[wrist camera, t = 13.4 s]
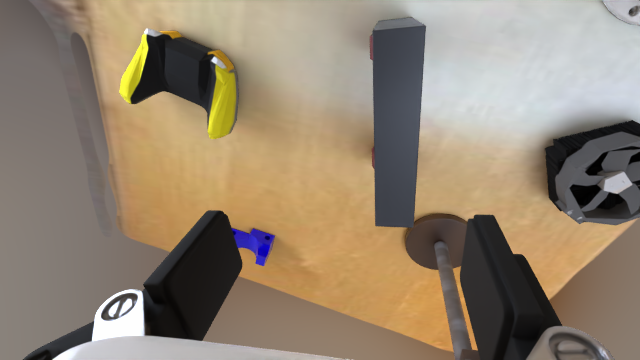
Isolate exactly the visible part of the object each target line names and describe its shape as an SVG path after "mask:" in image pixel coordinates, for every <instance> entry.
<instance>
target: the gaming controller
mask: <svg viewBox="0 0 640 360" xmlns="http://www.w3.org/2000/svg"><path fill="white" fill-rule="evenodd" d="M162 91H166V92H169V93H172V94H175V95H177V96H179V97H182V98H184V99H186V100H188V101H191V102H193V103H195V104H198V105H200V106H202V107H203V108H205V110H206V112H207V116H208V134H209V137H210V139H217V138H221V137H224V136H226V135H228V134H229V133H231V131H232V129H233V127H234V125H235V123H236V120H237V110H238V99H239V92H238V79H237V74H236V71H235V69H234V67H233V64H232V63H231V62H230V61H229V59H228V58H227V57H226V56H225V54H224V53H223V52H222V51H220V50H216V51H214V50H212V49H209V48H207V47H205V46H203V45H200V44H198V43H196V42H193V41H191V40H189V39H187V38H184V37H182V36H181V35H180V34H179V32H178V31H155V30H152V29H146V30H145V33H144V34H143V35H142V42H141V44H140V46H139V48H138V50H137V52H136V54H135V56H134V57H133V59H132V61H131V63H130V65H129V66H128V68H127V70H126V71H125V73H124V75H123V77H122V79H121V85H120V94H121V95H122V97H123V98H124V99H125V100H126V101H127V102H128V103H129V104H137V103H139V102H141V101H143V100H145V99H147V98H149V97H151V96H153V95H155V94H157V93H159V92H162Z"/></svg>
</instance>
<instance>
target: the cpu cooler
mask: <svg viewBox="0 0 640 360" xmlns="http://www.w3.org/2000/svg"><path fill="white" fill-rule="evenodd" d="M553 143H554V146H552V147H548V148H545V153H546V166H547V175H548V185H549V186H548V189H549V198H550V200H551V201H552V202H553V203H554V204H555V206H556V207H557V208H558V209H559V210H560V211H563V212H564V213H566V214H567V215H568V216H570V217H571V218H572V219H574V220H575V221H576V222H577V223H579V224H581V223H583V222H593V223H601V224H609V225H618V224H621V223H624V222H627V221H630V220H633V219H636V218H639V217H640V124H639V123H637V122H635V121H633V120H631V121H628V122H625V123H619V124H618V125H617V124H616V125H615V124H614V126H613V125H612V126H610V127H609V126H608V127H607V126H606V127H604V128H603V127H602V128H601V129H600V128H599V129H596V130H595V129H594V130H591V131H590V132H589V131H588V132H585V133H584V132H583V133H580V134H579V133H578V134H577V135H576V134H575V135H574V134H573V135H572V136H571V135H570V136H565V137H561V139H560V138H558V139H553Z"/></svg>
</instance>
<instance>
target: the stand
mask: <svg viewBox="0 0 640 360" xmlns="http://www.w3.org/2000/svg"><path fill="white" fill-rule="evenodd" d="M466 229H467V222H466V221H465V220H463V219H461V218H459V217H457V216H454V215H449V214H433V215H428V216H425V217H423V218H421V219H419V220H417V221H416V222H415V223H414V227H413V228H409V229H408V231H407V234H406V238H405V243H406V250H407V253H408V254H409V256H410V257H411V258H412V260H414V261H415V262H416V263H417V264H419V265H421V266H423V267H426V268H429V269H434V270H439V275H440V280H441V285H442V291H443V296H444V302H445V307H446V312H447V318H448V323H449V328H450V334H451V339H452V344H453V350H454V355H455V360H480V356H479V352H478V351H477V350H472V347H471V343H470V339H469V334H468V330H467V326H466V322H465V318H464V314H463V309H462V305H461V301H460V297H459V293H458V289H457V284H456V280H455V276H454V272H453V268H456V267H459V266H461V264H462V257H463V250H464V243H465V236H466Z"/></svg>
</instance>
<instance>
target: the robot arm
mask: <svg viewBox="0 0 640 360" xmlns="http://www.w3.org/2000/svg"><path fill="white" fill-rule="evenodd" d="M603 2H604V4H605V5H606V7H607V8H608V10H609V11H610V12H611V13H612V14H614V15H615V16H616V17H617V18H619V19H621V20H623V21H625V22H627V23H630V24H634V25H639V26H640V0H603ZM630 9H631V11H630V12H629V10H630ZM241 269H242V259H241V256H240V253H239V250H238V247H237V244H236V241H235V238H234V235H233V231H232V228H231V225H230V222H229V219H228V216H227V215H226V214H224V212H223V211H211V210H209V211H207V212H206V213H205V214H204V215H203V216H202V217H201V218H200V220H199V221H198V222H197V223H196V224H195V225H194V226H193V228H192V229H191V230H190V231H189V232H188V233H187V234H186V236H185V237H184V238H183V239H182V240H181V241H180V242H179V244H178V245H177V246H176V247H175V248H174V249H173V250H172V252H171V253H170V254H169V255H168V256H167V257H166V258H165V260H164V261H163V262H162V263H161V264H160V265H159V267H158V268H157V269H156V270H155V271H154V272H153V273H152V275H151V276H150V277H149V278H148V279H147V280H146V281H145V283H144V284H143V285H144V287H145V289H144V290H143V291H142V292H141V291H139V290H136V289H131V290H126V291H123V292H120V293H118V294H116V295H114V296H113V297H111V298H110V299H108V300H107V301H106V302H105V303H104V304H103V305H102V306H101V307H100V308H99V310H98V311H97V314H96V317H95V321H93V322H92V323H89V324H87V325H85V326H83V327H81V328H79V329H77V330H75V331H73V332H71V333H69V334H67V335H65V336H62V337H60V338H59V339H57V340H55V341H52V342H50V343H48V344H46V345H44V346H42V347H40V348H38V349H37V350H35V351H33V352H32V353H30V354H29V355H28V356H26V357H25V358H24V359H23V360H351V359H343V358H335V357H327V356H319V355H312V354H303V353H296V352H288V351H279V350H271V349H263V348H255V347H247V346H238V345H230V344H221V343H213V342H205V341H202V340H203V338H204V336H205V335H206V333H207V331H208V329H209V327H210V326H211V324H212V322H213V320H214V318H215V317H216V315H217V313H218V311H219V309H220V308H221V306H222V304H223V302H224V300H225V298H226V297H227V295H228V293H229V291H230V289H231V287H232V286H233V284H234V282H235V280H236V279H237V277H238V275H239V273H240V271H241ZM460 282H461V287H462V291H463V294H464V298H465V302H466V306H467V310H468V314H469V317H470V321H471V325H472V329H473V333H474V337H475V341H476V344H477V348H478V352H479V356H480V360H615V359H614V358H613V356H612V355H611V354H610V352H609V351H608V350H607V349H606V348H605V347H604V346H603V345H602V344H601V343H600V342H599V341H597V340H596V339H594V338H593V337H591V336H590V335H588V334H586V333H584V332H582V331H580V330H577V329H574V328H570V327H566V326H562V324H561V322H560V320H559V319H558V317H557V315H556V313H555V311H554V309H553V308H552V306H551V304H550V302H549V300H548V298H547V296H546V295H545V293H544V291H543V289H542V287H541V285H540V283H539V282H538V280H537V278H536V276H535V274H534V272H533V271H532V269H531V267H530V265H529V263H528V261H527V260H526V258H525V257H524V256H523V255H522V254H513V253H512V251H511V249H510V247H509V245H508V243H507V241H506V239H505V237H504V235H503V233H502V231H501V229H500V227H499V225H498V223H497V221H496V219H495V217H494V216H493V215H475V216H474V218H473V219H468V222H467V229H466V236H465V243H464V250H463V257H462V264H461V271H460Z"/></svg>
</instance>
